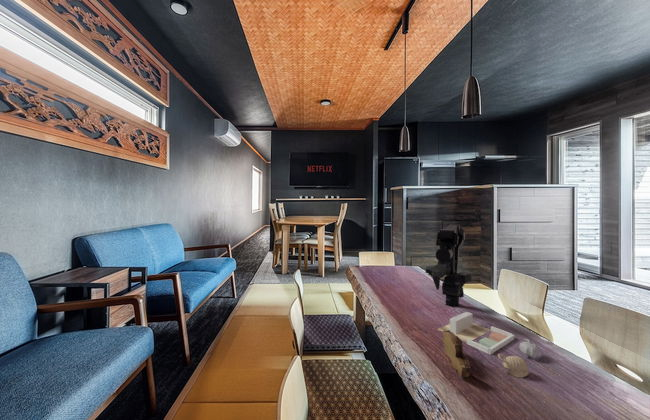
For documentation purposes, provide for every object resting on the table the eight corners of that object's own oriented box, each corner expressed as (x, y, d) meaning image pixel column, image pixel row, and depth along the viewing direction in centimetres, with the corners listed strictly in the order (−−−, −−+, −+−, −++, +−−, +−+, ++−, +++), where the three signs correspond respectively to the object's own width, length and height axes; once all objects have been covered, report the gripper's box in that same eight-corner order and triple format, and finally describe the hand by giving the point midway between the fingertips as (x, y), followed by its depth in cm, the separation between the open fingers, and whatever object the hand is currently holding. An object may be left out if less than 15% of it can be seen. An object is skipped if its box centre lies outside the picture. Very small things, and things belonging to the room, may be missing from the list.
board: (461, 321, 110) (461, 318, 110) (490, 333, 100) (490, 330, 100) (437, 332, 102) (437, 329, 101) (467, 347, 91) (467, 343, 91)
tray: (491, 333, 100) (491, 326, 100) (514, 342, 94) (514, 334, 94) (466, 347, 91) (466, 339, 91) (490, 359, 84) (490, 350, 84)
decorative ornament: (532, 379, 74) (532, 362, 74) (499, 374, 77) (499, 356, 77) (526, 371, 78) (526, 354, 78) (494, 365, 81) (495, 349, 81)
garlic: (516, 349, 90) (517, 334, 90) (536, 352, 88) (536, 338, 87) (521, 358, 84) (521, 343, 84) (542, 362, 82) (542, 347, 82)
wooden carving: (477, 384, 73) (478, 350, 73) (461, 384, 73) (462, 350, 73) (450, 350, 89) (450, 323, 89) (437, 350, 89) (437, 323, 89)
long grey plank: (466, 323, 106) (466, 311, 106) (472, 325, 104) (472, 313, 104) (449, 331, 100) (449, 318, 100) (455, 334, 98) (455, 321, 97)
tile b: (485, 343, 93) (485, 336, 93) (498, 349, 89) (498, 342, 89) (478, 347, 91) (478, 340, 90) (492, 353, 87) (492, 346, 87)
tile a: (495, 337, 97) (495, 331, 97) (508, 343, 93) (508, 336, 93) (489, 341, 94) (489, 334, 94) (502, 347, 91) (502, 340, 90)
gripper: (417, 256, 116) (417, 289, 117) (457, 264, 100) (457, 303, 101) (432, 253, 122) (432, 285, 123) (472, 260, 106) (472, 297, 107)
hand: (447, 292), depth 113 cm, fingers open, 9 cm apart
